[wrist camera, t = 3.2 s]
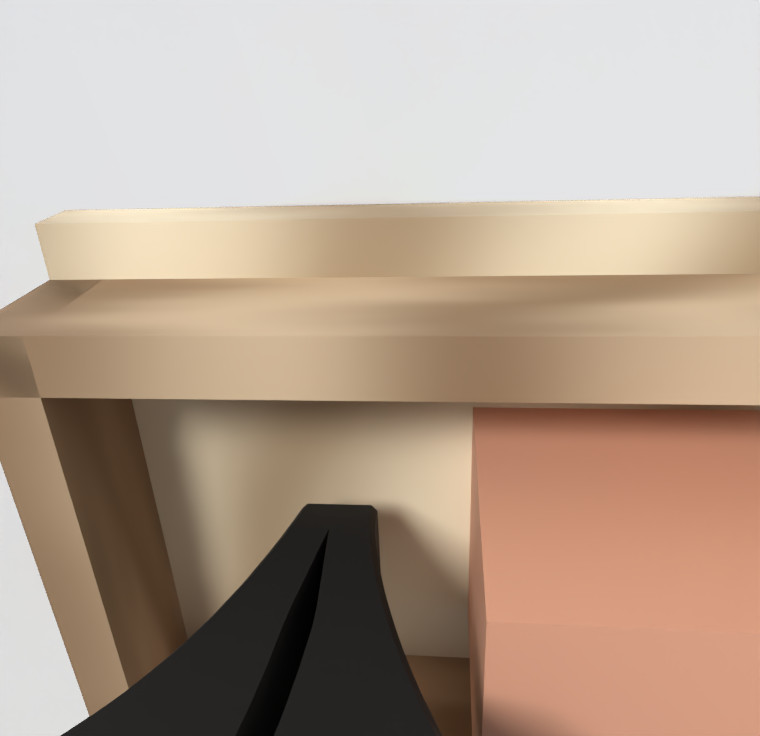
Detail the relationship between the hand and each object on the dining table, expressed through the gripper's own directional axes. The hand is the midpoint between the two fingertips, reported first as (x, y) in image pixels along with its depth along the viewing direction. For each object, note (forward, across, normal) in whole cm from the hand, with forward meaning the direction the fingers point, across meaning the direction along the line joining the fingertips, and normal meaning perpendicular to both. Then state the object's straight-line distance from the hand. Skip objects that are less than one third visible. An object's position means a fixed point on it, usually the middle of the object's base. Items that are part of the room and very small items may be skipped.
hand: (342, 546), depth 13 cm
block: (+1, -5, 0) cm, 5 cm away
